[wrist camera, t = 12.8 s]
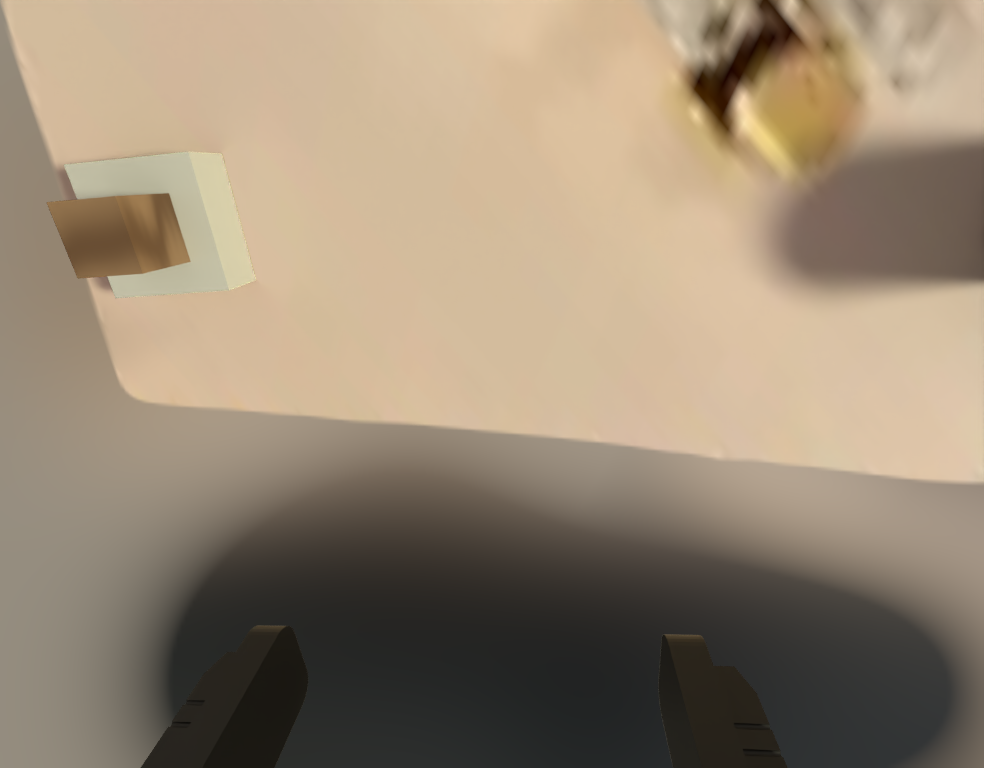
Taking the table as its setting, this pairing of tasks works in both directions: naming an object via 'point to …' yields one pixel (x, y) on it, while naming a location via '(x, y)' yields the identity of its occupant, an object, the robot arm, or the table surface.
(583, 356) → the table surface
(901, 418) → the table surface
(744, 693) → the robot arm
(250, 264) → the base slab
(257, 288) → the table surface
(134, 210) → the walnut cube
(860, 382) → the table surface
